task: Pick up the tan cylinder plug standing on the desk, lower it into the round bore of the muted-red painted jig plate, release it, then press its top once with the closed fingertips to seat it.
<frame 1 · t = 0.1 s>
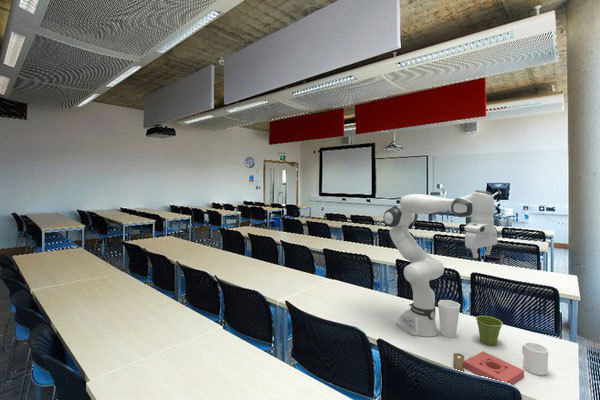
hand: (481, 256, 141), 48 cm above the table, fingers open, 8 cm apart
plant pot: (488, 342, 158), on the table
cup: (448, 335, 166), on the table
jig: (493, 372, 133), on the table
mug: (532, 368, 136), on the table
tan cylinder plug: (458, 371, 134), on the table
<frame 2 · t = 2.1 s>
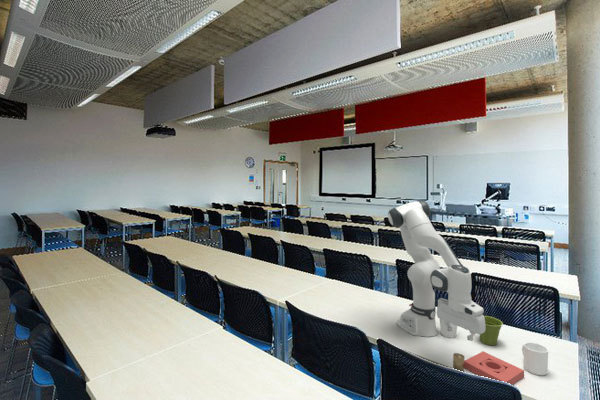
hand: (459, 335, 133), 16 cm above the table, fingers open, 8 cm apart
nothing on the table moved.
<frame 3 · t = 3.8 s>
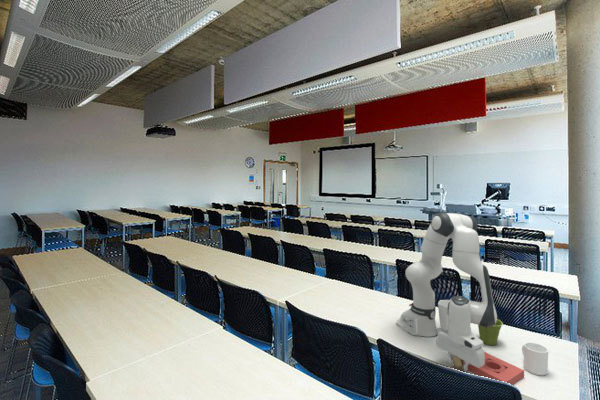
hand: (458, 366, 134), 2 cm above the table, fingers closed on tan cylinder plug, 4 cm apart
tan cylinder plug: (458, 371, 134), on the table, touching gripper
everything else where it was.
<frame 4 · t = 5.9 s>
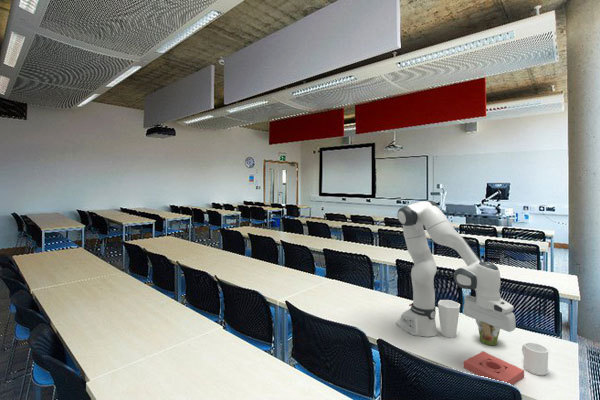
hand: (487, 333, 132), 18 cm above the table, fingers closed on tan cylinder plug, 4 cm apart
tan cylinder plug: (487, 338, 132), point 15 cm above the table, touching gripper
everything else where it was.
when the fingers open (4 cm above the table, at t = 8.2 s): tan cylinder plug drops 2 cm, resting in jig.
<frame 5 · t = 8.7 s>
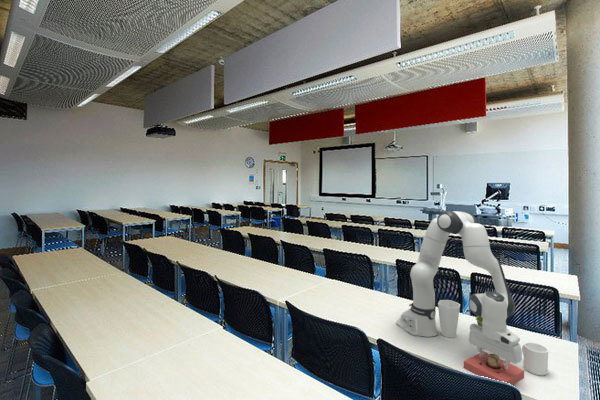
hand: (493, 362, 133), 4 cm above the table, fingers open, 8 cm apart
tan cylinder plug: (493, 372, 133), resting in jig
everything else where it was.
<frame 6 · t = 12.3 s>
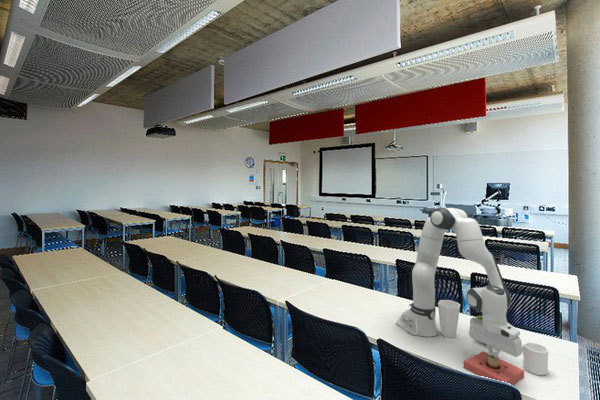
hand: (493, 356, 132), 7 cm above the table, fingers closed
nothing on the table moved.
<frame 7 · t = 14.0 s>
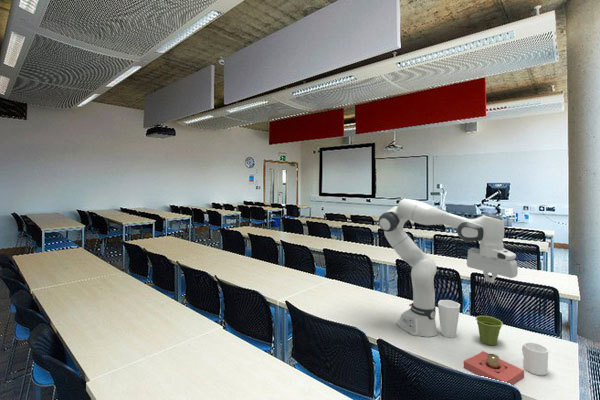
hand: (489, 282, 137), 37 cm above the table, fingers closed
nothing on the table moved.
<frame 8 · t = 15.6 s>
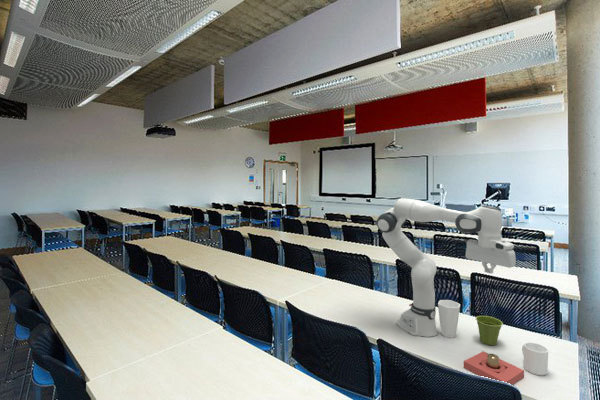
hand: (488, 272, 139), 41 cm above the table, fingers closed
nothing on the table moved.
at the end: tan cylinder plug 0.1 cm off-centre on the jig, point 0.0 cm above the jig's base; tan cylinder plug tilted 2°; the gripper is holding nothing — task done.
